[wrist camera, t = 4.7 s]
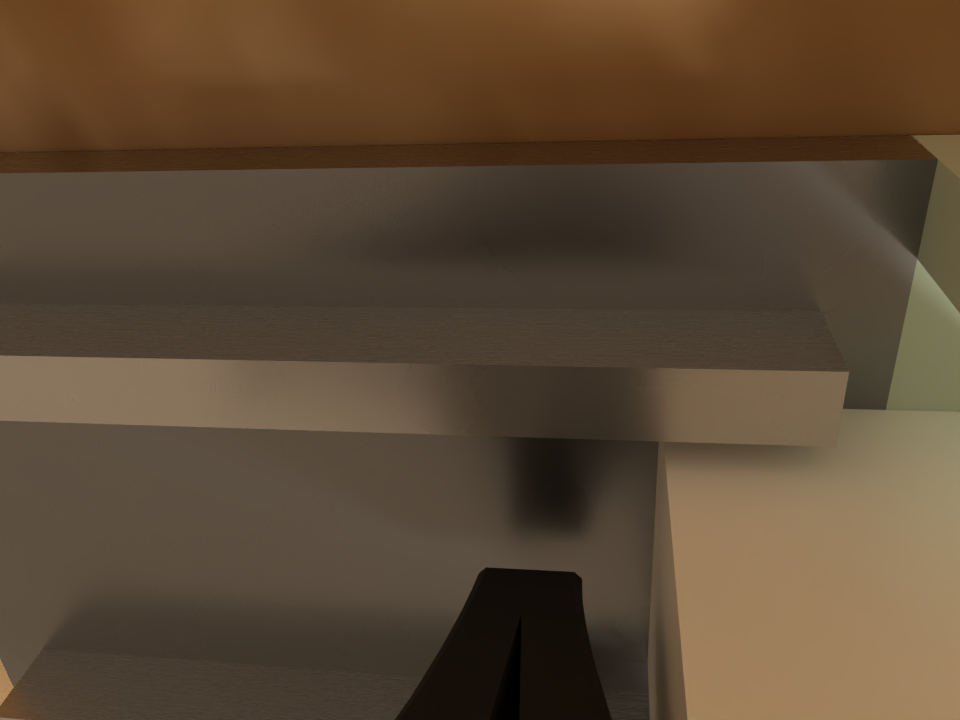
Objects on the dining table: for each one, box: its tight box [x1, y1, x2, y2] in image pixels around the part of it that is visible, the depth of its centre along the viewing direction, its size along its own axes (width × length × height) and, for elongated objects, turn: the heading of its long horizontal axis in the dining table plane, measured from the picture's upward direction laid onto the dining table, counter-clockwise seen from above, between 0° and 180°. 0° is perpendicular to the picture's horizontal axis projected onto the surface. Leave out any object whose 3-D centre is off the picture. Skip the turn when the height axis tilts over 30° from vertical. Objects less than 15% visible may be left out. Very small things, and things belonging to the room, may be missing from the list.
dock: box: [0, 136, 938, 720], centre depth 13 cm, size 12×15×2 cm
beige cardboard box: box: [648, 409, 960, 720], centre depth 10 cm, size 5×5×6 cm
